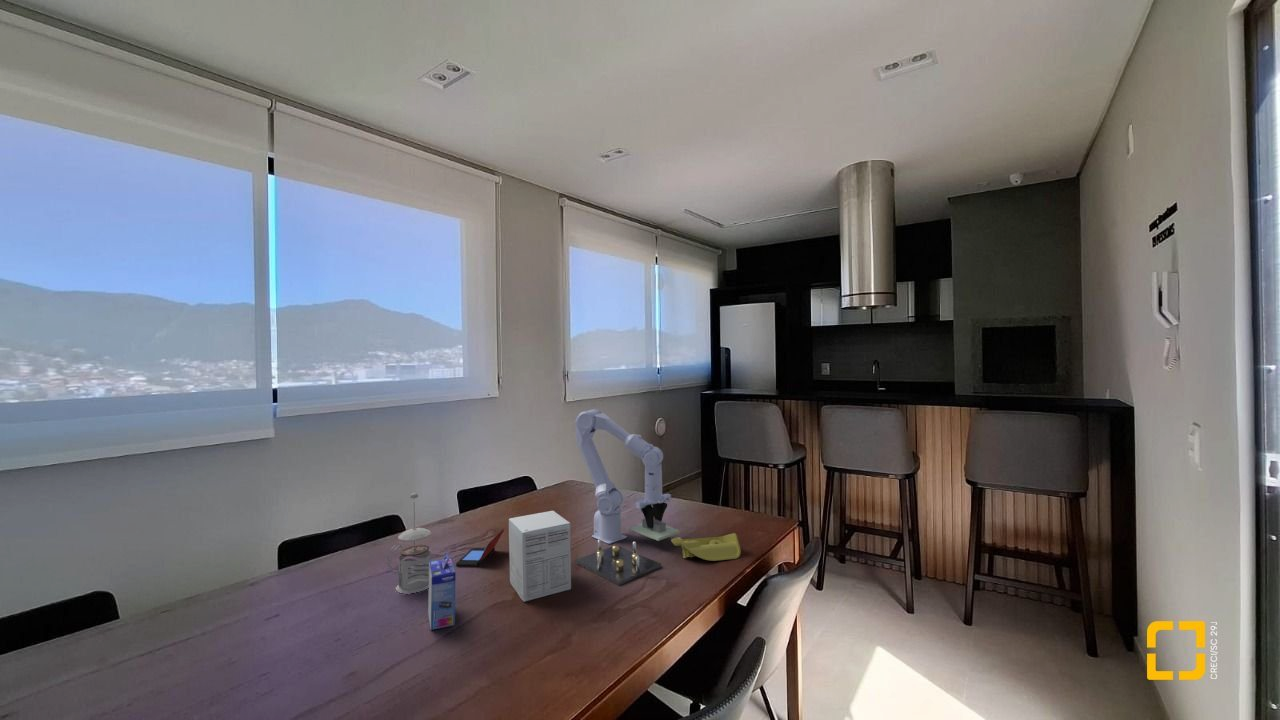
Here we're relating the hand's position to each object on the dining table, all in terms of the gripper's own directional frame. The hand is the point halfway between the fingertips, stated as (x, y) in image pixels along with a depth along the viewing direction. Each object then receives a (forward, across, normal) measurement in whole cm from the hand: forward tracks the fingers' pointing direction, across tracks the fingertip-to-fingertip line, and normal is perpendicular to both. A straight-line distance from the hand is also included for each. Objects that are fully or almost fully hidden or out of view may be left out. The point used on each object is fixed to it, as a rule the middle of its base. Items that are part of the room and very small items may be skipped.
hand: (654, 526), depth 155 cm
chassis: (+5, -20, -5) cm, 21 cm away
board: (+2, 0, 0) cm, 2 cm away
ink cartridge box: (+6, -68, +2) cm, 68 cm away
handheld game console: (+6, -47, +28) cm, 55 cm away
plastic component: (+6, +4, -18) cm, 19 cm away
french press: (+6, -68, +24) cm, 72 cm away
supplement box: (+6, -43, 0) cm, 43 cm away
